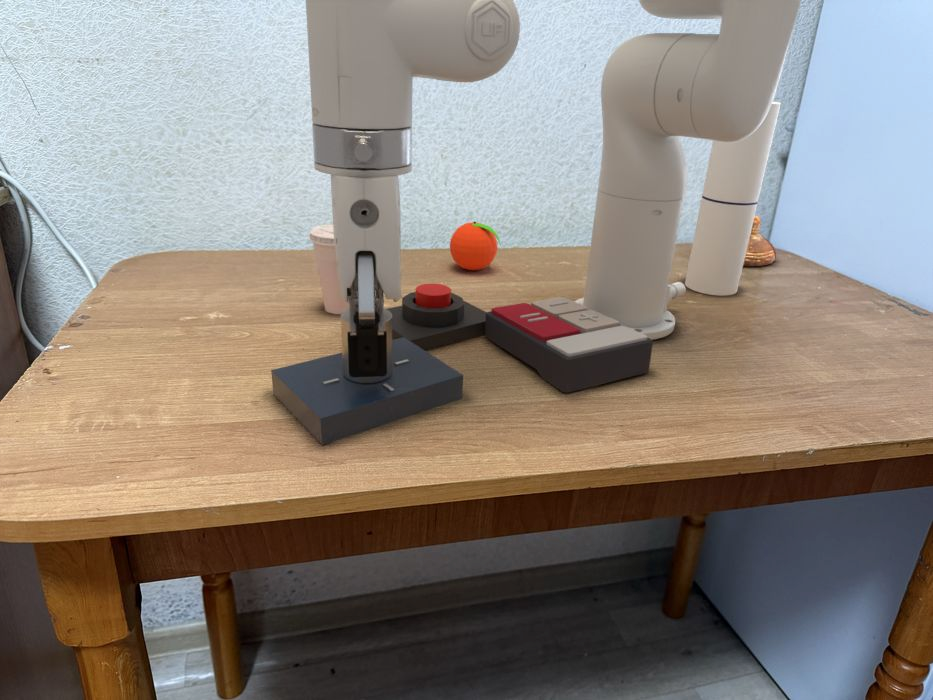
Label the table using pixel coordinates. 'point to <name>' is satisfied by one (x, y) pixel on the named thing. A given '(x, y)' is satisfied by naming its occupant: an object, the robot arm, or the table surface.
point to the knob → (344, 334)
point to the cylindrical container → (729, 209)
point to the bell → (758, 248)
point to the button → (433, 296)
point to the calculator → (569, 342)
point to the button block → (436, 322)
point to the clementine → (474, 246)
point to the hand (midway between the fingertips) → (367, 359)
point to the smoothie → (328, 268)
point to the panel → (364, 392)
